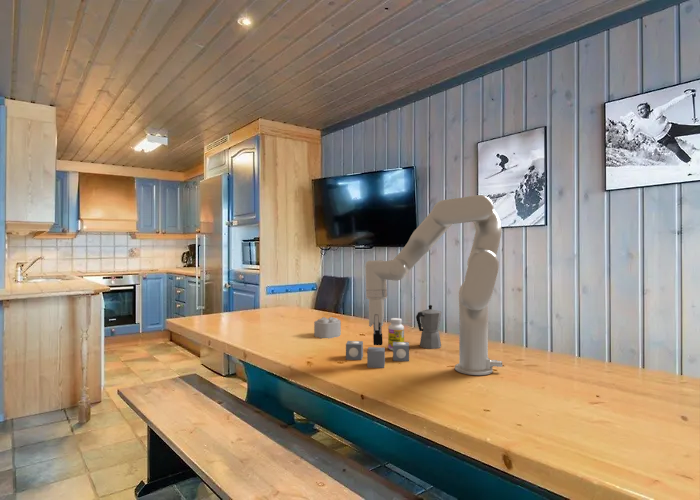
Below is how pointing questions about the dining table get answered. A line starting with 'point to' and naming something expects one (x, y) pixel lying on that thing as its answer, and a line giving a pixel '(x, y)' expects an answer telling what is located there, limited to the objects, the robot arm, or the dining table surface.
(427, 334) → the coffeepot
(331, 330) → the lumpy-topped squat cylinder
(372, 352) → the plain block
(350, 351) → the badge block
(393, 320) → the supplement bottle
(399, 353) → the badge block
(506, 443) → the dining table surface
